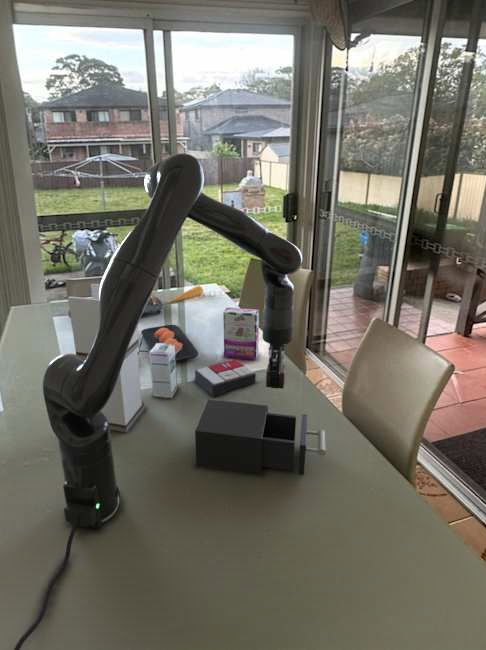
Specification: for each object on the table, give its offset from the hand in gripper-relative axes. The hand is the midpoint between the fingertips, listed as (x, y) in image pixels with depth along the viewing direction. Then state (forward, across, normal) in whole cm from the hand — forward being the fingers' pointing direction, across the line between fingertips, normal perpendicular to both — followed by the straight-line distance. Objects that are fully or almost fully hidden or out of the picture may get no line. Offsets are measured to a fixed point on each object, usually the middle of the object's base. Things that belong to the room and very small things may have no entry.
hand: (275, 382), depth 115 cm
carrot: (+9, -83, -49) cm, 97 cm away
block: (0, 0, 0) cm, 0 cm away
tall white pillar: (+10, +10, -41) cm, 43 cm away
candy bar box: (+9, -31, -14) cm, 36 cm away
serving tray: (+9, -60, -72) cm, 94 cm away
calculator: (+9, -13, -16) cm, 23 cm away
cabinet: (+10, +18, -8) cm, 22 cm away
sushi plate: (+9, -29, -47) cm, 56 cm away
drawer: (+9, +18, +4) cm, 20 cm away
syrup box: (+10, -4, -32) cm, 34 cm away
